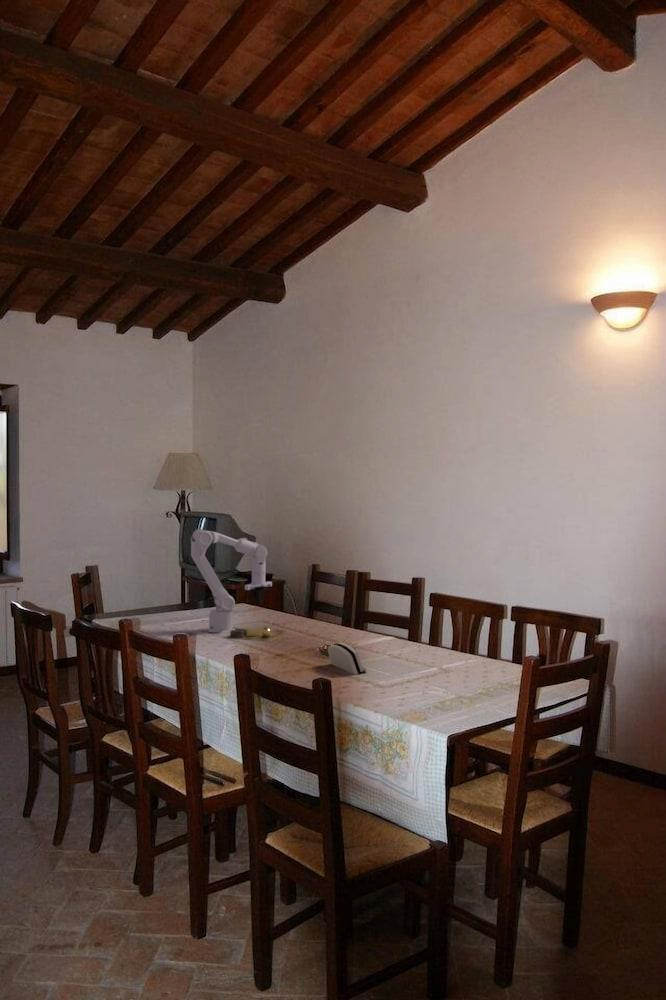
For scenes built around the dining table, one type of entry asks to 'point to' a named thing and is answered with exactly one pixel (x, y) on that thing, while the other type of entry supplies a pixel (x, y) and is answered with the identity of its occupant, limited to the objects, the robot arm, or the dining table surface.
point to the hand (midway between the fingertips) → (258, 605)
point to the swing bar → (255, 631)
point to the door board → (240, 635)
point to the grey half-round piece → (345, 658)
